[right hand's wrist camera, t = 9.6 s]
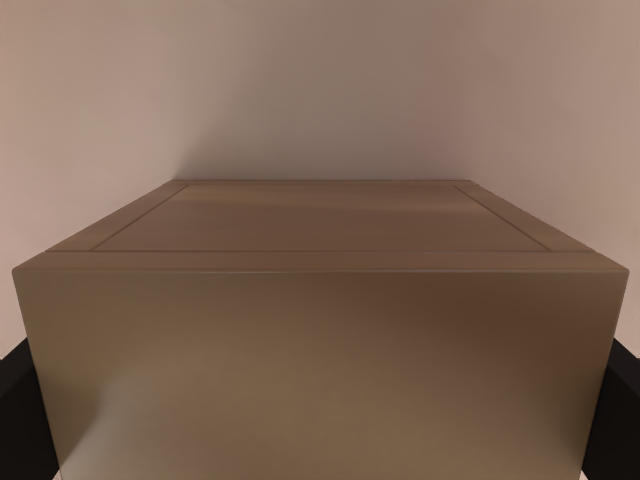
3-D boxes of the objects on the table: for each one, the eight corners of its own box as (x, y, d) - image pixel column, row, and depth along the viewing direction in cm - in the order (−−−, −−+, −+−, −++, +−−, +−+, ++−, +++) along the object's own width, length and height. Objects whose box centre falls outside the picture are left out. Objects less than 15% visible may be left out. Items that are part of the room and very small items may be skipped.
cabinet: (434, 508, 22) (508, 775, 13) (206, 508, 22) (131, 774, 13) (470, 180, 17) (632, 269, 8) (170, 179, 17) (8, 269, 8)
